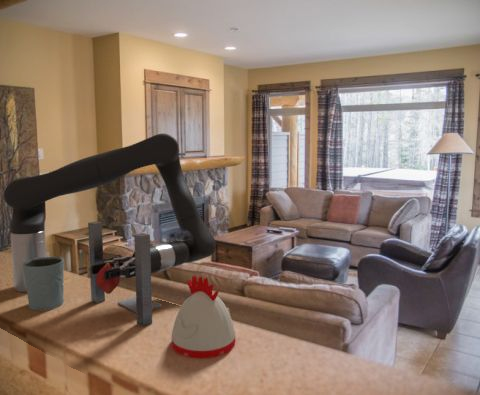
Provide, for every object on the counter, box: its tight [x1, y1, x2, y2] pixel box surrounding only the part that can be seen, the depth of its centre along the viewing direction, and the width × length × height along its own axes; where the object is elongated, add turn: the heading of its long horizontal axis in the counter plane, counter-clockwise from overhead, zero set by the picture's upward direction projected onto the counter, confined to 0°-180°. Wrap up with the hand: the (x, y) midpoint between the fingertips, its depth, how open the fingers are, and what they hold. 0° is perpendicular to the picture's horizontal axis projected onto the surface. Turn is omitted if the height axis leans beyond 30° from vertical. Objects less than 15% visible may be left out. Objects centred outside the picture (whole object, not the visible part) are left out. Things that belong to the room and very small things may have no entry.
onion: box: [96, 263, 121, 295], centre depth 111 cm, size 6×6×8 cm
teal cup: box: [23, 256, 64, 311], centre depth 119 cm, size 10×10×12 cm
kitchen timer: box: [171, 275, 236, 359], centre depth 97 cm, size 14×14×15 cm
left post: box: [87, 221, 106, 304], centre depth 121 cm, size 3×3×22 cm
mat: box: [117, 296, 162, 314], centre depth 119 cm, size 10×7×1 cm
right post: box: [133, 232, 153, 328], centre depth 106 cm, size 3×3×22 cm
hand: (98, 272), depth 109 cm, fingers closed on onion, 5 cm apart
